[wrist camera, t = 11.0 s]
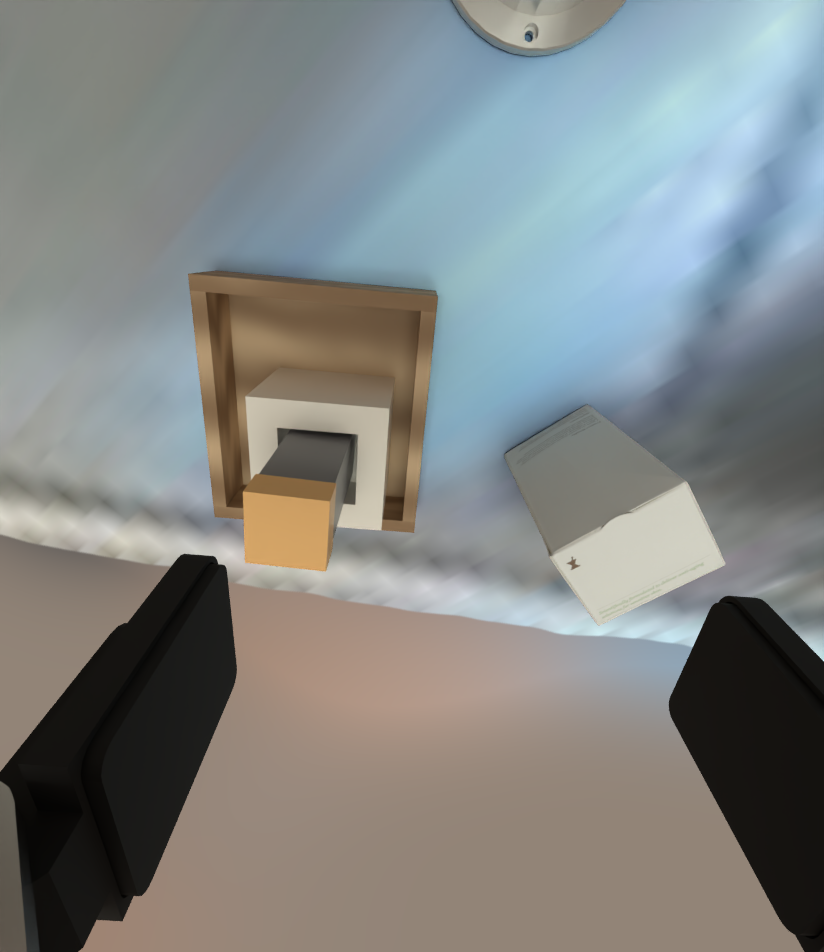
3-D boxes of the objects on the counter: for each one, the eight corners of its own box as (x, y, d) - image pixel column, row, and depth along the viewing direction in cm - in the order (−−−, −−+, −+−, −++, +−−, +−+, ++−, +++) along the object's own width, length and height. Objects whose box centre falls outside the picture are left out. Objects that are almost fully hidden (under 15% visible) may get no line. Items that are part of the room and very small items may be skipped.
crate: (215, 270, 35) (188, 273, 30) (435, 290, 35) (437, 296, 31) (234, 490, 42) (214, 516, 38) (414, 505, 43) (413, 532, 39)
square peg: (299, 413, 34) (242, 491, 23) (358, 420, 34) (330, 501, 23) (298, 466, 36) (245, 562, 25) (354, 473, 36) (326, 571, 25)
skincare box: (535, 506, 43) (593, 633, 29) (498, 449, 40) (542, 557, 26) (623, 459, 41) (732, 570, 26) (590, 396, 38) (690, 482, 24)
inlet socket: (279, 367, 37) (245, 396, 30) (395, 377, 37) (389, 408, 30) (283, 472, 41) (253, 520, 34) (387, 480, 41) (381, 530, 34)
